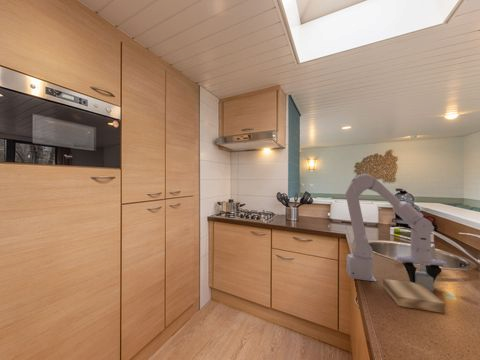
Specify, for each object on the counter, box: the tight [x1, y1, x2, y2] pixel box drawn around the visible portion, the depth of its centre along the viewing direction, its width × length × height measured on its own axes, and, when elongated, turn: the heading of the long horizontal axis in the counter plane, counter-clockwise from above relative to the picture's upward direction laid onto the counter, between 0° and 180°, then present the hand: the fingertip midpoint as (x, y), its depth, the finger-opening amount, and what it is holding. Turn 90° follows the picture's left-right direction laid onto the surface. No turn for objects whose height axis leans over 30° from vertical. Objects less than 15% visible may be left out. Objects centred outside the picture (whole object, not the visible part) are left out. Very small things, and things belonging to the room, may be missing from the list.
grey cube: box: [409, 270, 435, 292], centre depth 74 cm, size 5×5×5 cm
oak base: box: [382, 278, 446, 314], centre depth 67 cm, size 12×12×3 cm
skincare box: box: [419, 243, 437, 273], centre depth 87 cm, size 6×4×12 cm
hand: (421, 283), depth 74 cm, fingers closed on grey cube, 5 cm apart
